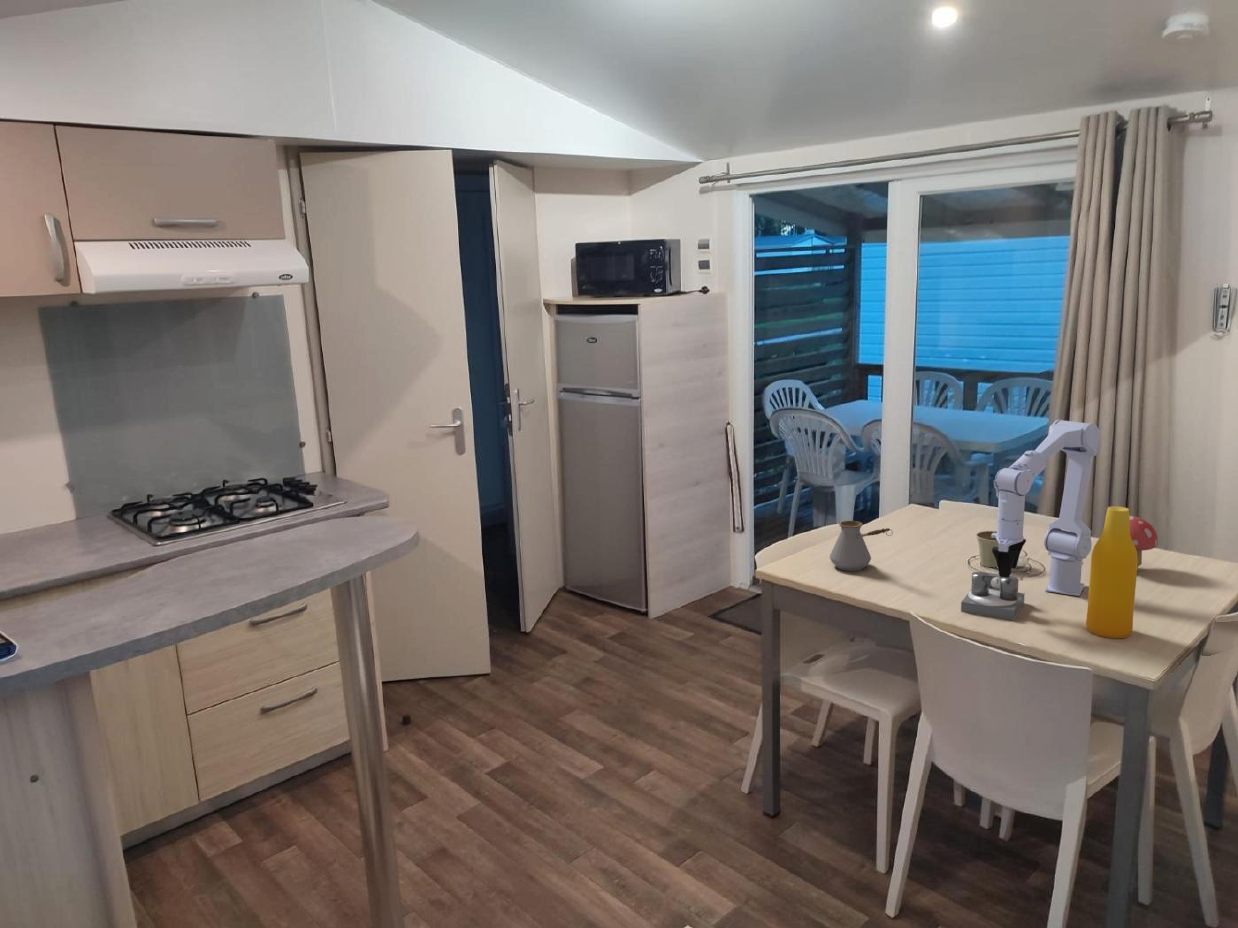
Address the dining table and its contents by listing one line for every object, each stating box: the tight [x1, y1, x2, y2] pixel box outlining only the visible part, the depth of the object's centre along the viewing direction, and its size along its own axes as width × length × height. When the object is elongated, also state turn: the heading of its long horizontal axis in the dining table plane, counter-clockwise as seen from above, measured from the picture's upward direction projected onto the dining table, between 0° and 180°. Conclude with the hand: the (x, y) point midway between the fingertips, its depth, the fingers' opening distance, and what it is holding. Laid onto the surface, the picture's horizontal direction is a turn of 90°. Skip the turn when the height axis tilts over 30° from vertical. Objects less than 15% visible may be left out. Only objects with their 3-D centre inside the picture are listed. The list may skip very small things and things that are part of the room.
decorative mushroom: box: [1129, 515, 1159, 568], centre depth 237 cm, size 13×13×15 cm
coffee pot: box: [829, 520, 894, 572], centre depth 245 cm, size 21×12×15 cm, turn 27°
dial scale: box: [960, 571, 1025, 621], centre depth 216 cm, size 13×12×6 cm
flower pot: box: [975, 530, 999, 569], centre depth 246 cm, size 9×9×9 cm
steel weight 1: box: [970, 571, 989, 596], centre depth 216 cm, size 4×4×5 cm
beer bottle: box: [1085, 505, 1139, 639], centre depth 197 cm, size 9×9×29 cm
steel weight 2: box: [1000, 575, 1020, 601], centre depth 213 cm, size 4×4×5 cm
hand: (1007, 572), depth 212 cm, fingers open, 7 cm apart
